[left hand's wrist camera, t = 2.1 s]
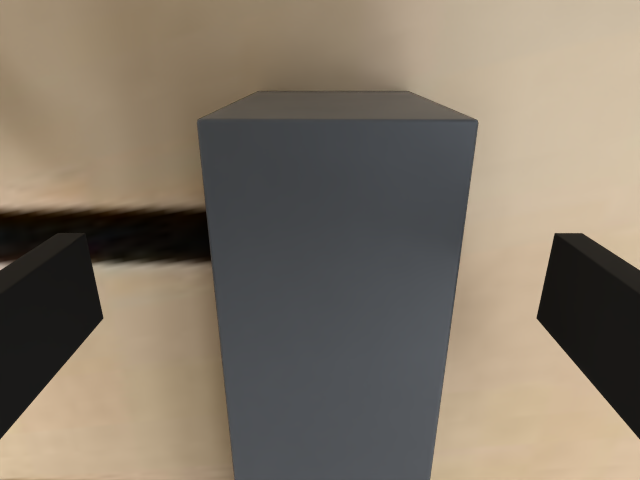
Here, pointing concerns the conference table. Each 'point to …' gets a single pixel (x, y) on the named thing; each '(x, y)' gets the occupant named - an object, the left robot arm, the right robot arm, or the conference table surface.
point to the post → (335, 276)
